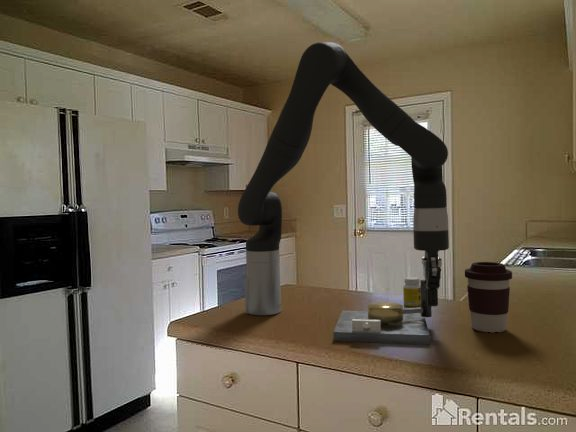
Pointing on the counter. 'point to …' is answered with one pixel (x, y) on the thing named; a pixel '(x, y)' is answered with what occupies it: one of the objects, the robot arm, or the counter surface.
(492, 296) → the coffee cup
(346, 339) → the stand
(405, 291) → the supplement bottle
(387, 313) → the cam capstan
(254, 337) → the counter surface
